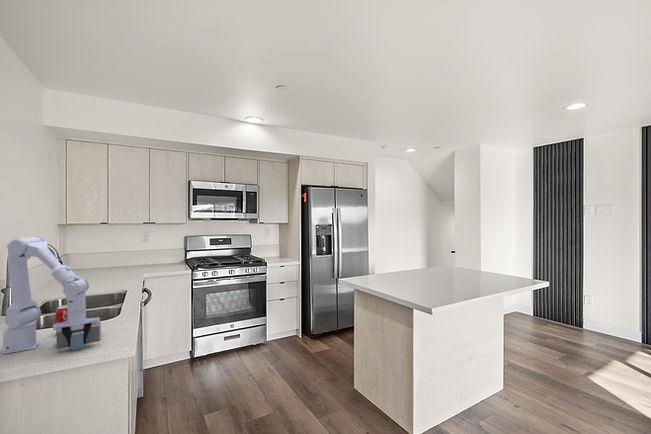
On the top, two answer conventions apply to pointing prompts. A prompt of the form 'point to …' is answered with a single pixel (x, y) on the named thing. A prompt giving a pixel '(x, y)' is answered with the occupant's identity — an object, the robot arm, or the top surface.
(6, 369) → the top surface
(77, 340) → the block
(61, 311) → the soda can
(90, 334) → the housing
